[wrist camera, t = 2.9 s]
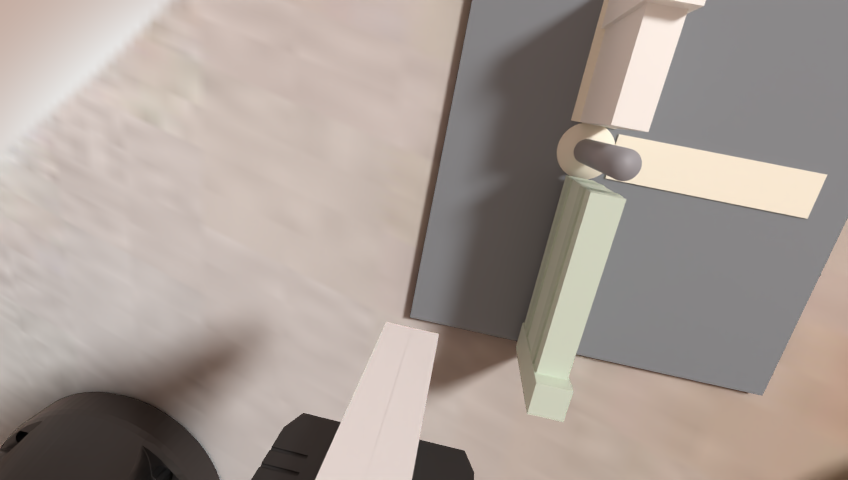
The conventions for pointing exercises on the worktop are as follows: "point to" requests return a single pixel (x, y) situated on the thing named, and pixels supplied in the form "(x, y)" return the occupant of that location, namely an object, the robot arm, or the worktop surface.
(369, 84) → the worktop surface
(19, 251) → the worktop surface
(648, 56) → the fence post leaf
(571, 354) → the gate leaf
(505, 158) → the mat
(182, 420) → the worktop surface
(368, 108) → the worktop surface
